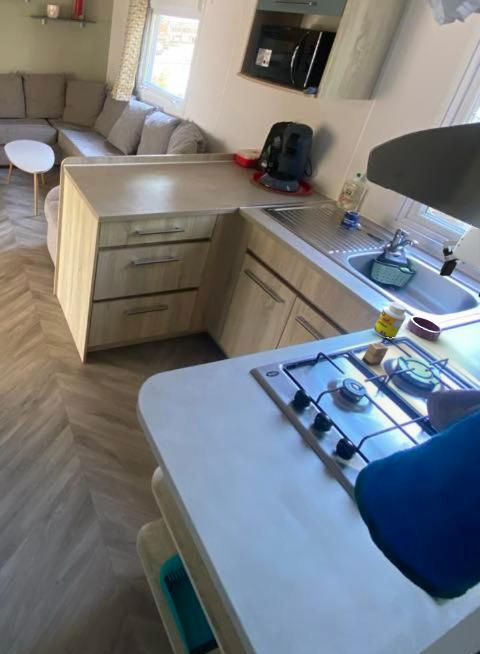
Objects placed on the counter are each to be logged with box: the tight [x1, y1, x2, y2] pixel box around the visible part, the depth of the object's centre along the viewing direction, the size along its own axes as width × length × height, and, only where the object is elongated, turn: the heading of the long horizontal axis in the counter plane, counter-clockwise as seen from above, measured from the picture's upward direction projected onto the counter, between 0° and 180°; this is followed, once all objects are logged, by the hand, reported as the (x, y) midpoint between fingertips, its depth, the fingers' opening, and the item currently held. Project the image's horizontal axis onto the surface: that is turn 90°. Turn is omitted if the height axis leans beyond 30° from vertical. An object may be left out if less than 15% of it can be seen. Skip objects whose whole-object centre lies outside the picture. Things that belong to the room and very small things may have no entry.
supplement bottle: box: [373, 301, 407, 340], centre depth 122 cm, size 6×6×10 cm
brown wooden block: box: [361, 342, 389, 367], centre depth 110 cm, size 4×2×6 cm, turn 104°
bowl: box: [406, 315, 443, 341], centre depth 128 cm, size 8×8×3 cm
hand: (463, 285), depth 105 cm, fingers open, 9 cm apart
